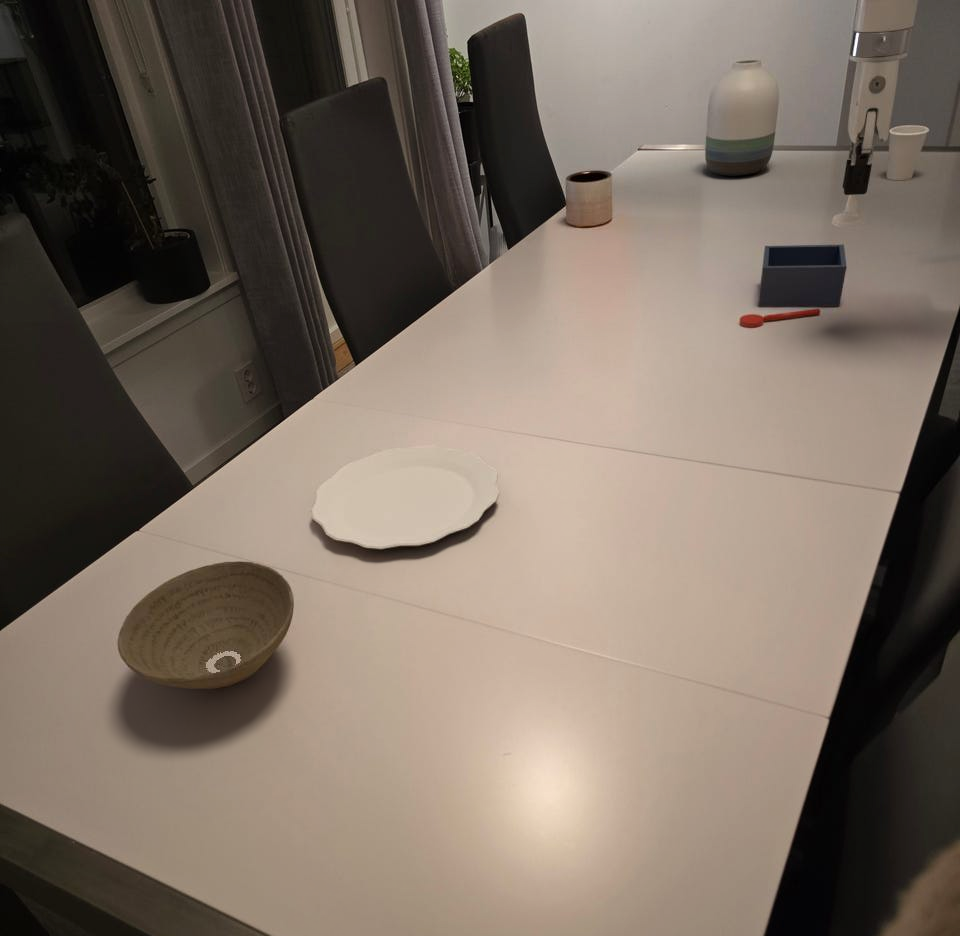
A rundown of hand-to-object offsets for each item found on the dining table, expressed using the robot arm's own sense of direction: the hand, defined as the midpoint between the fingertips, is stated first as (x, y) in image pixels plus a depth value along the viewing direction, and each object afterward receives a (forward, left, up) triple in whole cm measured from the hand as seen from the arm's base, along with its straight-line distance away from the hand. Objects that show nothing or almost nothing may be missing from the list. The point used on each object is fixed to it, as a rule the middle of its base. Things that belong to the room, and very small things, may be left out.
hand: (854, 190), depth 127 cm
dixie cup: (-18, -91, -21) cm, 95 cm away
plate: (+55, +61, -21) cm, 85 cm away
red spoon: (+9, -3, -21) cm, 23 cm away
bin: (+5, -15, -21) cm, 26 cm away
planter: (+52, -63, -21) cm, 84 cm away
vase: (+20, -102, -21) cm, 106 cm away
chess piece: (0, 0, -5) cm, 5 cm away
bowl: (+64, +95, -21) cm, 117 cm away
